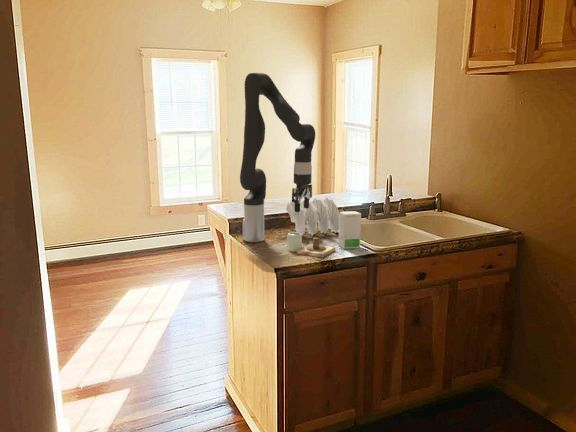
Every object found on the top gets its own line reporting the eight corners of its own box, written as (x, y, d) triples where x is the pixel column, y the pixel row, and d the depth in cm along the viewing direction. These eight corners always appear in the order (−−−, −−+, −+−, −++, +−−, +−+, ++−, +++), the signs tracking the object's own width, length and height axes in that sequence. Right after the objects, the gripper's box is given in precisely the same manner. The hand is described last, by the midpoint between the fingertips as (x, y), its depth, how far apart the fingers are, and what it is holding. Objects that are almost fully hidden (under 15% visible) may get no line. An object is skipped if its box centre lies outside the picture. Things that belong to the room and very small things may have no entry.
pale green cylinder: (285, 250, 219) (285, 233, 217) (291, 246, 224) (291, 230, 222) (297, 252, 216) (297, 234, 214) (303, 248, 221) (303, 231, 220)
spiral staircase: (340, 241, 249) (294, 244, 238) (326, 220, 261) (282, 222, 251) (351, 211, 238) (304, 213, 228) (336, 190, 251) (290, 191, 241)
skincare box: (343, 249, 220) (344, 214, 217) (337, 245, 227) (338, 211, 223) (360, 247, 223) (362, 213, 219) (354, 244, 229) (355, 210, 226)
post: (297, 253, 214) (297, 239, 213) (309, 246, 224) (310, 233, 223) (322, 257, 208) (323, 243, 207) (334, 250, 218) (335, 236, 217)
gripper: (302, 169, 220) (301, 206, 224) (286, 173, 208) (286, 212, 212) (318, 171, 217) (316, 208, 220) (303, 175, 204) (302, 214, 208)
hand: (301, 210), depth 216 cm, fingers open, 8 cm apart
